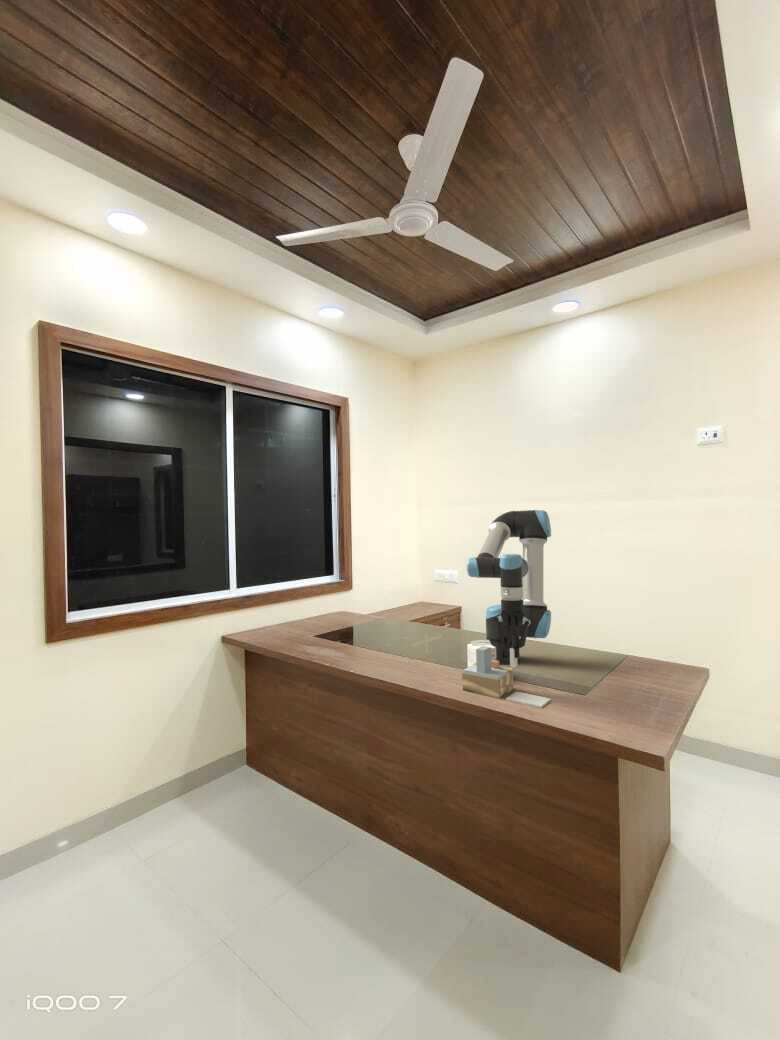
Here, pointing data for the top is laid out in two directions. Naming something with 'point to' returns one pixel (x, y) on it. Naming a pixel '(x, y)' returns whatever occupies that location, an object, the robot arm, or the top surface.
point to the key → (494, 664)
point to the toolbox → (489, 684)
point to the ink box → (474, 645)
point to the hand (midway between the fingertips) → (513, 666)
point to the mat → (528, 699)
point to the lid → (485, 665)
